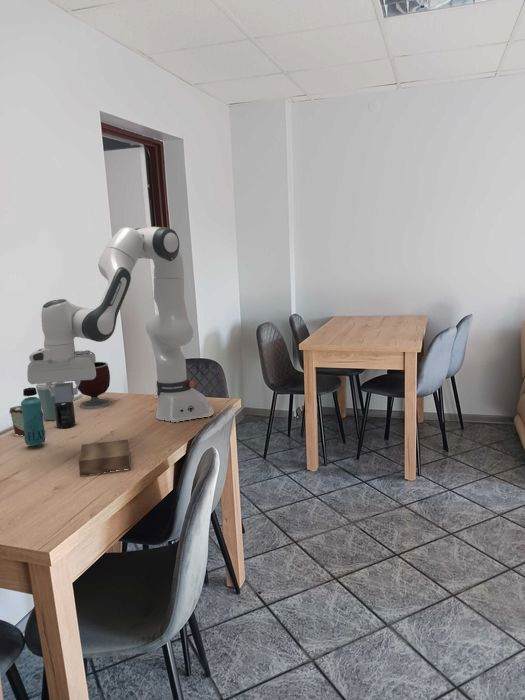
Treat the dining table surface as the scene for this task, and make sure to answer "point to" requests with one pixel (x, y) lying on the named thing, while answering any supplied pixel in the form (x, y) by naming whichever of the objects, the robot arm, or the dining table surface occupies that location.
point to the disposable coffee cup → (47, 400)
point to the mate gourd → (96, 387)
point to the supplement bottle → (64, 414)
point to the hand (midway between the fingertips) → (64, 395)
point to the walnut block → (104, 457)
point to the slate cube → (63, 392)
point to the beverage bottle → (32, 418)
